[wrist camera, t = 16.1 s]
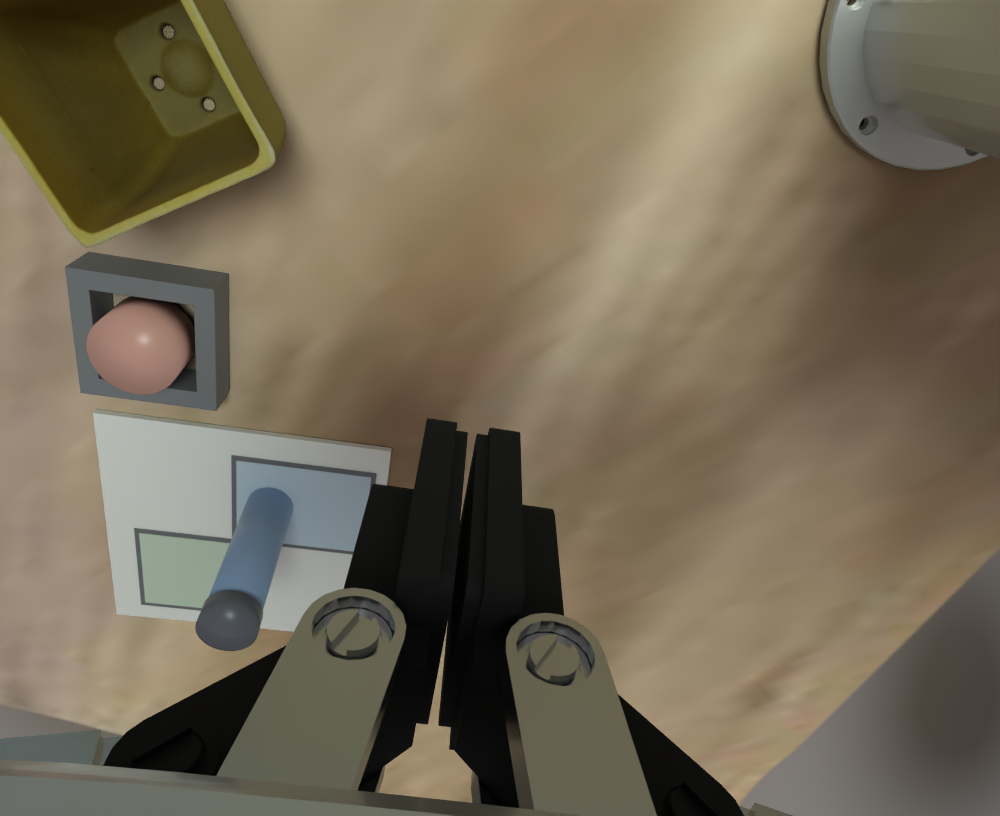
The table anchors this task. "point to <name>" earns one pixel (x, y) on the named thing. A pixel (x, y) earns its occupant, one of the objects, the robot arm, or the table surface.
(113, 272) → the button collar
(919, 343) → the table surface
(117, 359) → the button
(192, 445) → the sheet
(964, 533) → the table surface
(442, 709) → the robot arm
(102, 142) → the flower pot
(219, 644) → the cylinder
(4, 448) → the table surface
